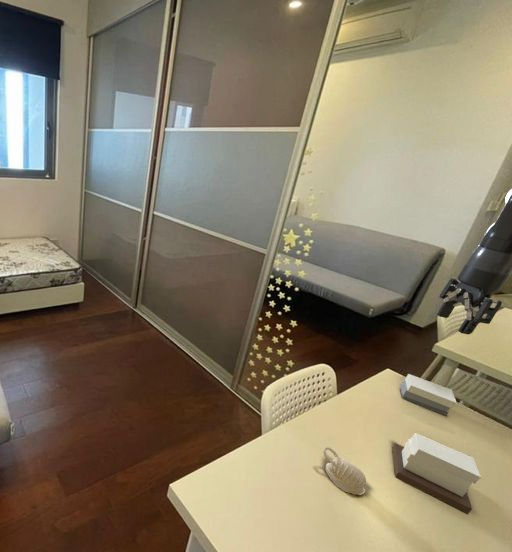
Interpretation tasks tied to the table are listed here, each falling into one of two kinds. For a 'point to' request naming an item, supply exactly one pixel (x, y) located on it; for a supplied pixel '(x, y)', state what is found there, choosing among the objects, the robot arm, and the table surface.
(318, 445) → the table surface
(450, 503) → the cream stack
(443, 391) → the white rectangular block
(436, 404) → the blue-grey block
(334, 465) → the decorative ornament
